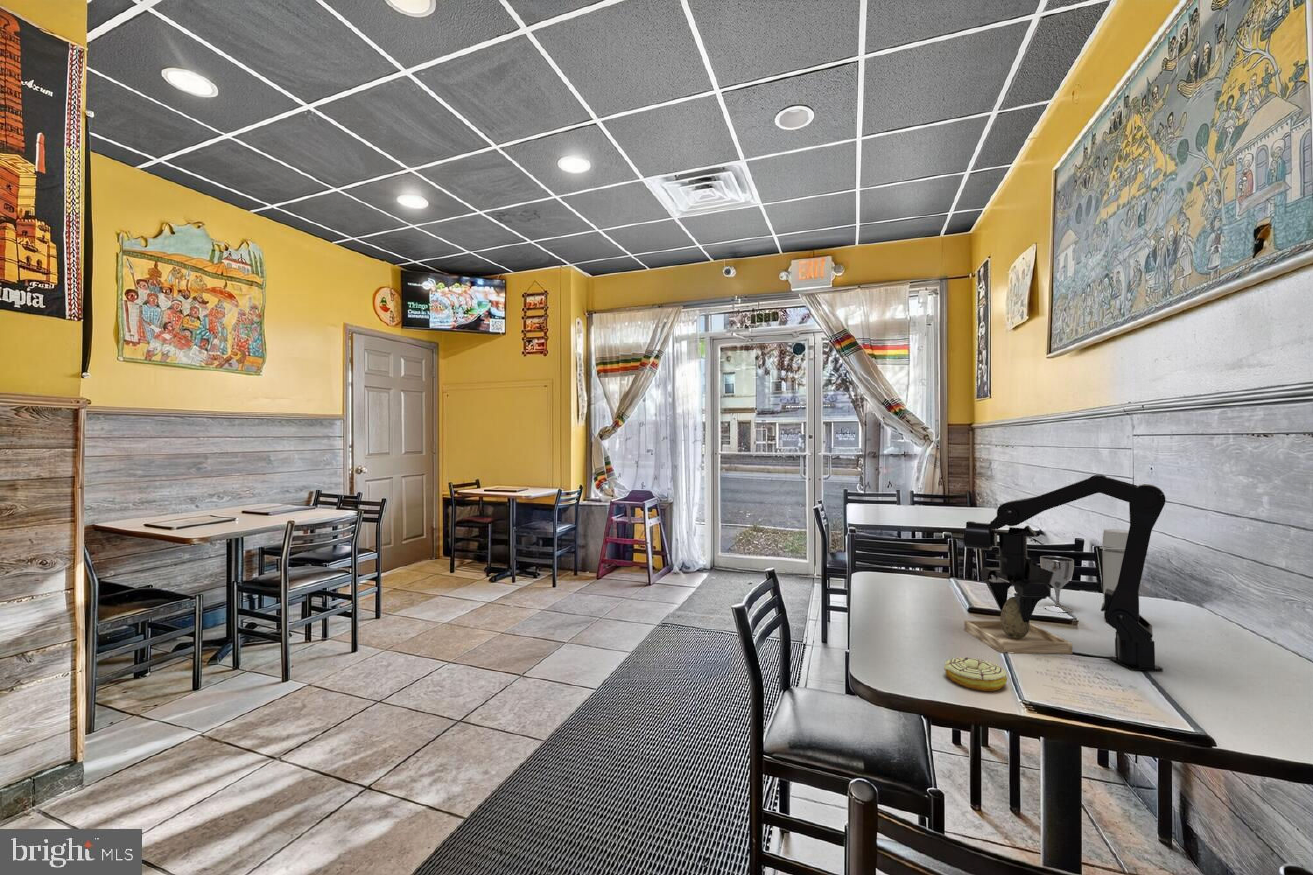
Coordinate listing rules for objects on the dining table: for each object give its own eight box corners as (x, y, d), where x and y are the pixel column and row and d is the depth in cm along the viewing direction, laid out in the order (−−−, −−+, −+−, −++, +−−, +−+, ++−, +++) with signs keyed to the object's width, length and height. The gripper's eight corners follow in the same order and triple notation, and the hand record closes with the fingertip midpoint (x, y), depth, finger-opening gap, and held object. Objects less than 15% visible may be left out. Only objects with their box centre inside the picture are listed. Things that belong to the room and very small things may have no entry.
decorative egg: (997, 637, 132) (996, 596, 132) (1004, 632, 136) (1004, 592, 136) (1026, 644, 127) (1025, 601, 127) (1032, 638, 131) (1031, 597, 131)
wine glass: (1063, 605, 161) (1062, 555, 162) (1081, 613, 153) (1080, 561, 154) (1035, 605, 162) (1034, 555, 163) (1052, 613, 154) (1050, 560, 155)
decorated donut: (965, 668, 116) (964, 650, 116) (1018, 687, 106) (1017, 667, 106) (934, 677, 111) (934, 659, 111) (987, 698, 101) (986, 678, 101)
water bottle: (1147, 629, 140) (1145, 533, 141) (1113, 627, 142) (1110, 532, 142) (1124, 618, 149) (1122, 528, 150) (1092, 616, 151) (1090, 527, 151)
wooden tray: (1072, 654, 123) (1072, 643, 123) (1000, 652, 124) (1000, 642, 124) (1027, 630, 139) (1027, 621, 139) (964, 629, 140) (964, 620, 140)
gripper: (1074, 560, 122) (1075, 629, 122) (1022, 546, 141) (1023, 605, 140) (1024, 560, 123) (1025, 628, 122) (979, 545, 141) (980, 605, 141)
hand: (1014, 616), depth 132 cm, fingers open, 9 cm apart
